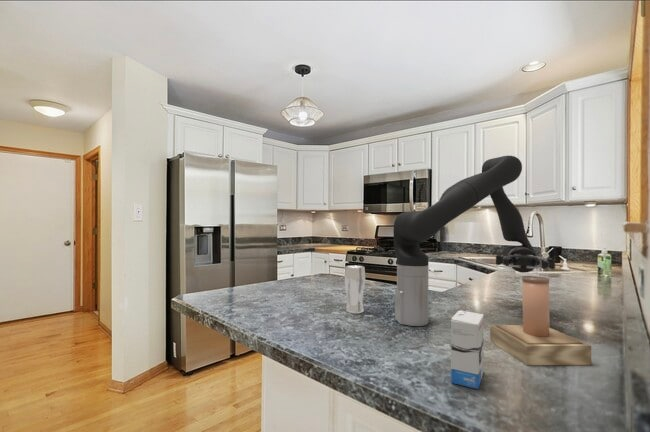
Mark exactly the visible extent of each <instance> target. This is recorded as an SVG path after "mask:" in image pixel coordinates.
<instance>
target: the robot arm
mask: <svg viewBox="0 0 650 432" xmlns="http://www.w3.org/2000/svg"><path fill="white" fill-rule="evenodd" d="M522 171H523V164H522V161H521V160H520V158H518V157H517V156H515V155H503V156H497V157H493V158H490V159H487V160H485V161H484V162H483V164H482V166H481V172H480V173H477V174H474V175H471V176H469V177H465V178H463V179H461V180H459V181H458V182H456V183H454V184H453V185H451V186H449V187H448V188H446V190H444V191H443V193H442V194H441V196H440V198H439V200H438V201H437V202H435V203H434V204H432V205H430V206H429V207H427V208H423V209H422V210H419V211H405V212H401V213H399V214H398V215H397V216H396V218H395V220H394V222H393V248H394V256H395V258H396V287H395V289H394V319H395V320H396V322H398V324H399V325H405V326H412V327H423V326H427V325H428V324H429V319H430V318H429V317H430V314H429V257H428V255H427V254H426V253H424V251H423V250H422V248H421V247H420V243H424V242H427V241H428V240H430V239H431V238H432V237H433V236H435V235H436V234H437V233H439V231H440V230H441V229H443V228H444V227H445V226H446V225H448V223H451V222H452V221H454V220H455V219H456V218H458V217H460V216H461V215H462V214H464V213H465V212H467V211H469V210H470V209H472V208H473V207H475V206H476V205H477V204H478V203H480V202H482V201H483V200H485V199H486V198H488V197H490V198H491V201H492V203H493V205H494V208H495V211H496V213H497V216H498V220H499V224H500V229H501V233H502V237H503V240H504V241H507V242H516V243H520V244H521V245H513V246H507V247H505V248H503V249H502V252H501V254H497V255H495V265H496V266H500V265H503V266H505V267H509V268H512V270H514V271H516V272H519V273H524V274H526V273H529V272H530V273H531V272H532V271H533V270H535V269H536V270H537V269H538V270H541V269H543V270H547V269H551V270H554V269H556V259H554V258H551V257H545V258H542V257H541V256H539V255H538V256H537V252H536V250H535V249H534V247H533V245H532V244H531V242H530V240H529V238H528V235H527V232H526V229H525V225H524V220H523V217H522V214H521V213H520V211H519V209H518V208H517V207H516V206H515V204H514V203H513V202H512V200H511V199H509V197H508V195H507V194H506V192H505V190H504V187H505V186H507V185H509V184H511V183H513V182H514V181H516V180H517V179H518V178H519V177H520V176H521V174H522Z"/></svg>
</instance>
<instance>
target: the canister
mask: <svg viewBox="0 0 650 432" xmlns="http://www.w3.org/2000/svg"><path fill="white" fill-rule="evenodd" d="M521 282H522V287H521V288H522V325H523V332H524V333H526V334H529V335H533V336H539V337H548V336H549V335H550V333H549V327H550V278H548V277H543V276H535V275H523V276H521Z"/></svg>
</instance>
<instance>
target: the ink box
mask: <svg viewBox="0 0 650 432" xmlns="http://www.w3.org/2000/svg"><path fill="white" fill-rule="evenodd" d="M484 316H485V315H484V314H483V313H479V312H478V313H477V312H473V311H466V310H458V311H456V313H455V314H454V315H453V316H452V317H451V319H450V339H451V340H450V341H451V343H450V350H451V351H450V358H451V359H450V383H451V384H455V385H458V386H463V387H466V388H470V389H474V390H479V388H480V385H481V382H482V379H483V375H484Z"/></svg>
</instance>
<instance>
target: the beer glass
mask: <svg viewBox="0 0 650 432" xmlns="http://www.w3.org/2000/svg"><path fill="white" fill-rule="evenodd" d="M365 269H366V268H365V266H363V265H358V264H357V265H356V264H355V265H354V264H353V265H352V264H351V265H345V267H344V288H345V294H346V306H345V312H346V313H349V314H362V313H363V312H364V309H365V308H364V303H363V300H364V292H365V288H366V270H365Z"/></svg>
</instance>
